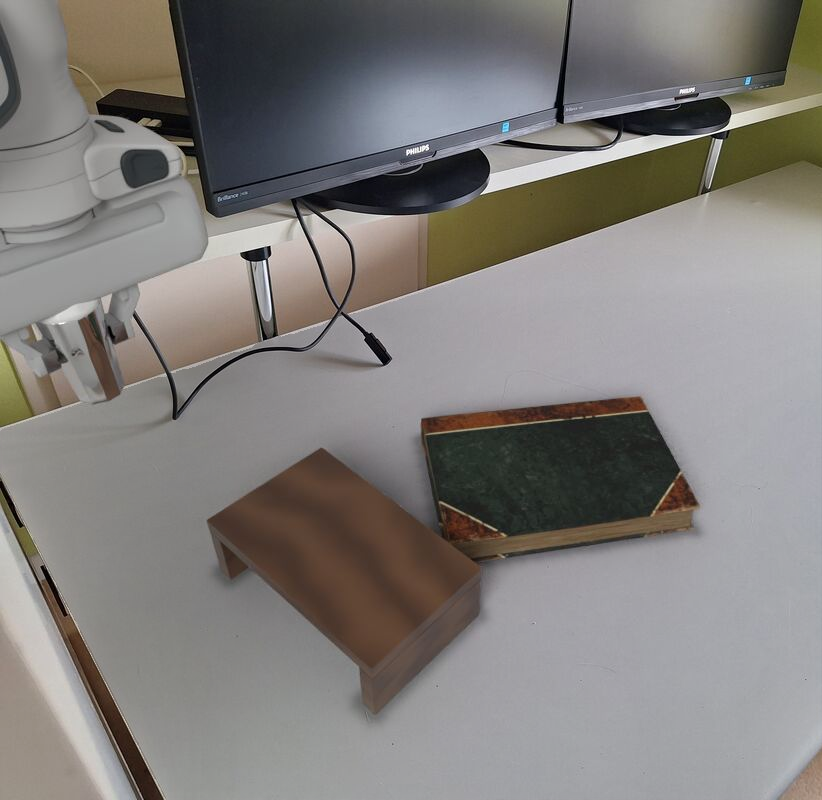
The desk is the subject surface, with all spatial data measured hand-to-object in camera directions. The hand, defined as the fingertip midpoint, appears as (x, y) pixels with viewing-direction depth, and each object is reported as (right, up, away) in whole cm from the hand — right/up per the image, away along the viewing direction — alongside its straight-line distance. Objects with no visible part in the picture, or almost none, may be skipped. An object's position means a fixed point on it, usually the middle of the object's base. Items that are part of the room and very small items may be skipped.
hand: (84, 353), depth 54 cm
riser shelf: (+16, -20, +13) cm, 29 cm away
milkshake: (-1, -3, +3) cm, 4 cm away
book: (+34, -12, +25) cm, 44 cm away
